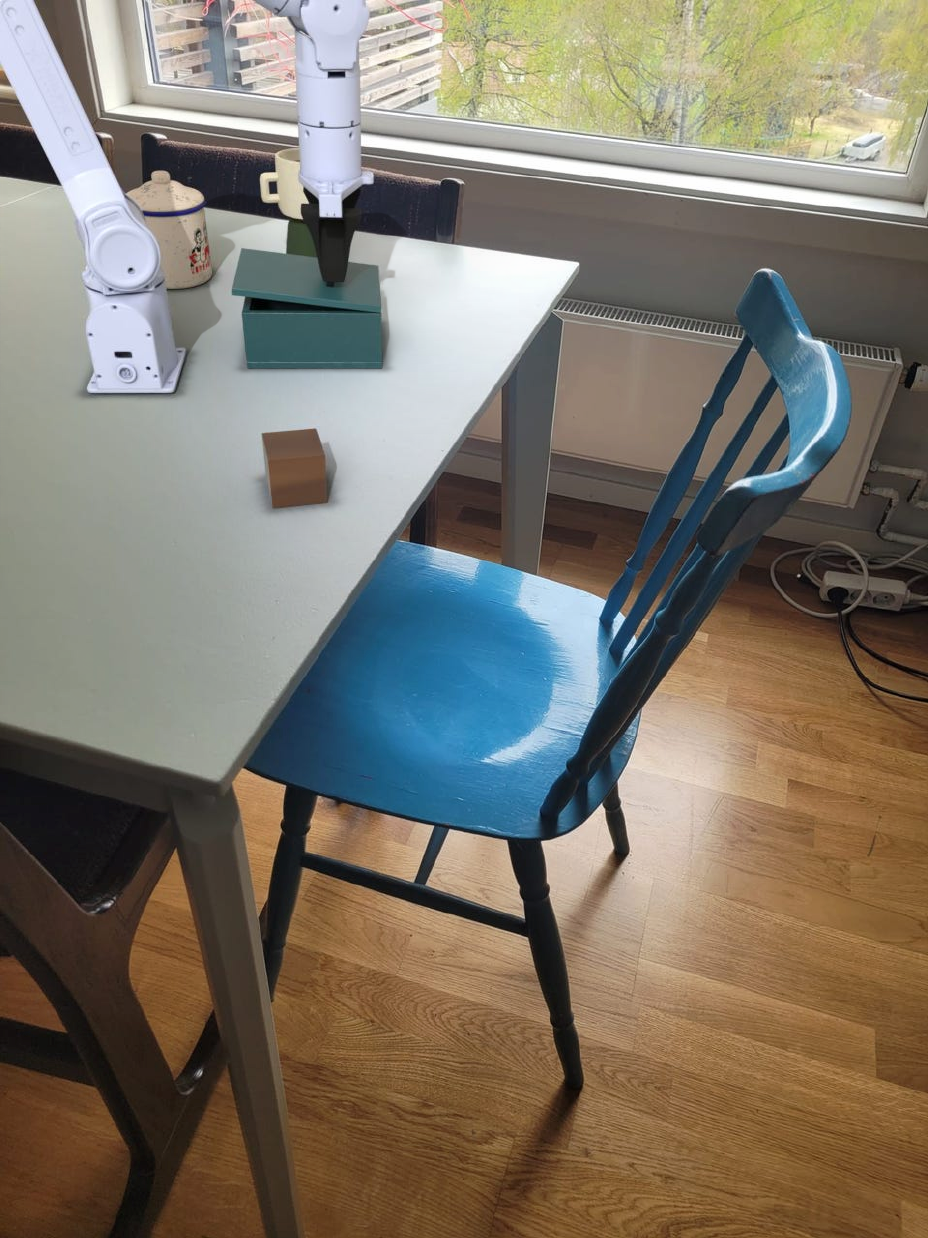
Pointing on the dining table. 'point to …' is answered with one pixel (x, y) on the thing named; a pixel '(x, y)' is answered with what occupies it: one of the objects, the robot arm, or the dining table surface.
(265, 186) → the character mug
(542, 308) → the dining table surface
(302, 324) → the teal wooden box
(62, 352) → the dining table surface
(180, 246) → the teacup with lid
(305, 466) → the block
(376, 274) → the lid
